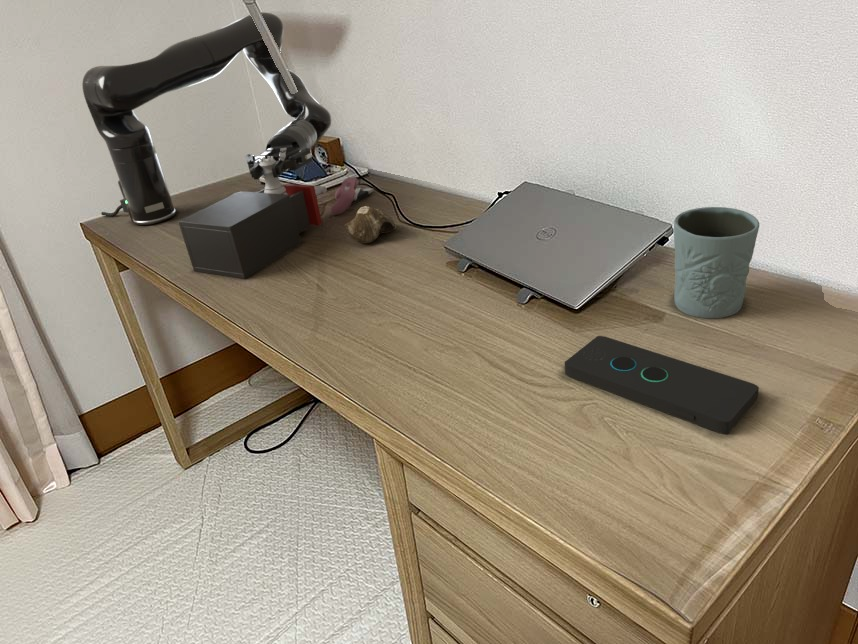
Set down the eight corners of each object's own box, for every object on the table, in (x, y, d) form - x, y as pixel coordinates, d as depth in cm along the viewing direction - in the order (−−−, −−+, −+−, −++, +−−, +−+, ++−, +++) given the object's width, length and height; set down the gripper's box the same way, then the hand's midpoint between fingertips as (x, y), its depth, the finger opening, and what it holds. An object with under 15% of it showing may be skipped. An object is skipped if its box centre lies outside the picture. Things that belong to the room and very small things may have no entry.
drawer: (296, 208, 148) (288, 172, 144) (340, 212, 142) (332, 175, 139) (229, 247, 133) (217, 208, 129) (274, 253, 127) (264, 212, 123)
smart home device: (599, 332, 87) (761, 384, 74) (599, 344, 88) (759, 397, 75) (561, 363, 82) (727, 423, 69) (561, 375, 83) (726, 436, 70)
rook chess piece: (292, 194, 135) (282, 154, 131) (280, 202, 131) (270, 161, 127) (272, 194, 136) (262, 154, 132) (260, 202, 133) (250, 162, 129)
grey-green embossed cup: (692, 280, 100) (697, 201, 94) (763, 298, 93) (773, 214, 87) (655, 309, 94) (658, 227, 88) (728, 330, 87) (737, 242, 81)
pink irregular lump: (350, 221, 144) (359, 191, 140) (328, 214, 143) (337, 184, 140) (354, 203, 152) (362, 174, 149) (334, 197, 151) (342, 167, 148)
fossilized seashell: (381, 210, 135) (338, 234, 132) (381, 188, 130) (336, 212, 126) (404, 236, 133) (360, 260, 129) (405, 214, 127) (360, 239, 123)
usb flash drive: (350, 205, 148) (350, 201, 147) (332, 203, 150) (331, 199, 150) (374, 192, 154) (374, 187, 153) (356, 190, 156) (355, 186, 156)
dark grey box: (251, 237, 139) (239, 191, 134) (301, 243, 132) (289, 194, 128) (193, 271, 127) (177, 221, 122) (244, 279, 121) (230, 226, 116)
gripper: (326, 161, 144) (304, 189, 129) (262, 167, 146) (233, 196, 131) (318, 125, 140) (295, 149, 125) (253, 132, 142) (222, 157, 128)
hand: (264, 173), depth 128 cm, fingers closed on rook chess piece, 3 cm apart
